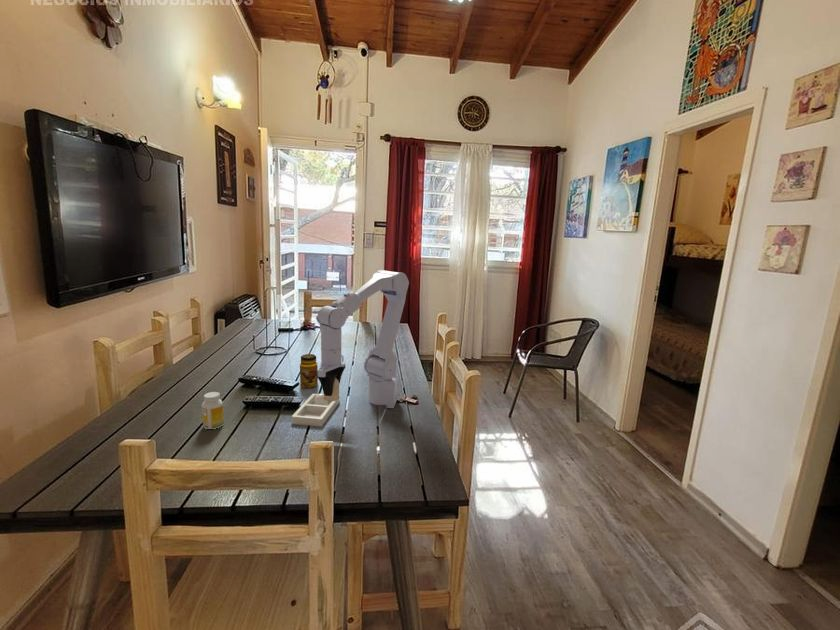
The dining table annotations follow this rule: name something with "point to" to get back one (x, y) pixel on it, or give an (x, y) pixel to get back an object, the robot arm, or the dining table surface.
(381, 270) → the robot arm
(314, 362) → the condiment
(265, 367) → the dining table surface
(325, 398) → the brown egg
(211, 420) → the supplement bottle
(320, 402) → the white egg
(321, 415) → the holder
